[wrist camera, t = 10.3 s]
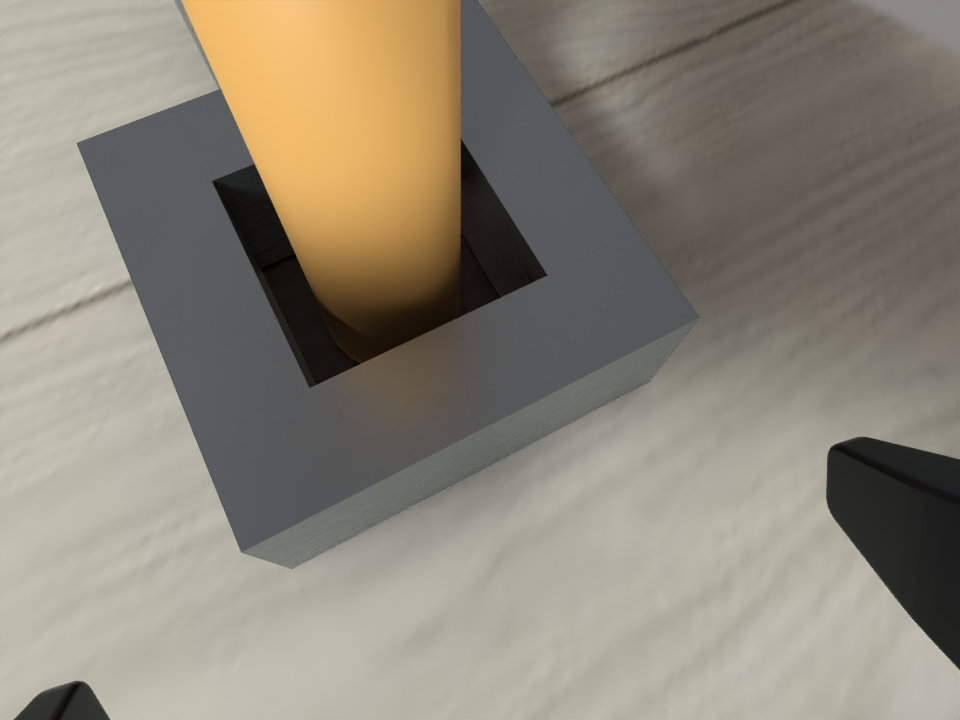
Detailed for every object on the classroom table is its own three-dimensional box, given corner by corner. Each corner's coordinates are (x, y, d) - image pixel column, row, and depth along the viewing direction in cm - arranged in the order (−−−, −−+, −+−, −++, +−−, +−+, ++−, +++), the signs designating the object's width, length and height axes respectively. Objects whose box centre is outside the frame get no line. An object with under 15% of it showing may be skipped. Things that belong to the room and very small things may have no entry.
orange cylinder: (488, 300, 19) (537, -292, 7) (398, 397, 18) (262, -94, 6) (389, 225, 20) (271, -430, 7) (298, 314, 18) (-15, -279, 6)
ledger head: (649, 381, 18) (699, 318, 14) (291, 568, 16) (241, 552, 12) (360, -64, 23) (341, -194, 20) (67, 37, 22) (-16, -86, 18)
